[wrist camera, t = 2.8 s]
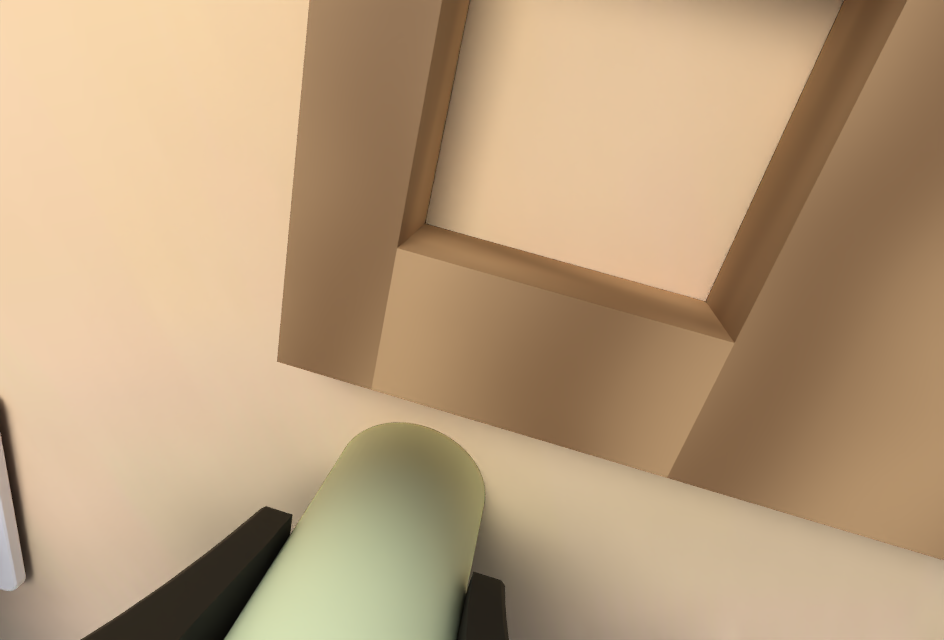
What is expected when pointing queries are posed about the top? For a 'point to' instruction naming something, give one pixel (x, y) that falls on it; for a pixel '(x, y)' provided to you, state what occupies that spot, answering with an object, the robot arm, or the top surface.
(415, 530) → the peg
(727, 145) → the top surface
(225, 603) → the robot arm
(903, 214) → the walnut board
